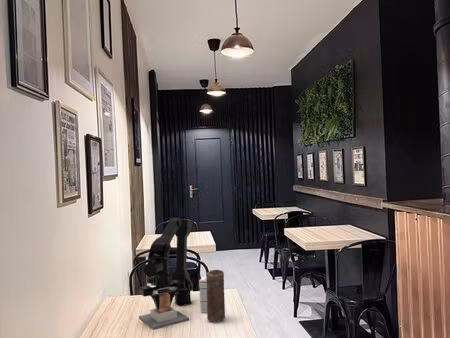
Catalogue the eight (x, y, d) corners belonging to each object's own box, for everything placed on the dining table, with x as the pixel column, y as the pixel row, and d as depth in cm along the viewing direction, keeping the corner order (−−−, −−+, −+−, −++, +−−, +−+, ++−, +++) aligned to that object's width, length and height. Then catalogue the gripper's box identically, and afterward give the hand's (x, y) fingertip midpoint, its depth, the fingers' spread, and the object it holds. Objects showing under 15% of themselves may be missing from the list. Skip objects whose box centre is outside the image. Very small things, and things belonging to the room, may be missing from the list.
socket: (173, 310, 185) (172, 301, 185) (189, 320, 171) (188, 310, 171) (139, 318, 176) (138, 309, 176) (153, 329, 163) (152, 319, 163)
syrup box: (213, 313, 178) (212, 279, 178) (200, 313, 179) (198, 279, 180) (216, 308, 184) (215, 276, 184) (203, 308, 185) (202, 276, 185)
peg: (166, 312, 177) (165, 291, 177) (170, 315, 173) (169, 294, 173) (156, 315, 174) (155, 294, 174) (160, 318, 171) (159, 296, 171)
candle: (228, 317, 172) (225, 269, 172) (222, 324, 165) (220, 274, 165) (211, 316, 175) (209, 269, 175) (204, 322, 168) (202, 273, 168)
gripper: (173, 264, 186) (175, 299, 185) (133, 271, 176) (135, 307, 176) (184, 268, 176) (186, 305, 176) (143, 276, 166) (145, 315, 166)
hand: (163, 308), depth 174 cm, fingers open, 5 cm apart
